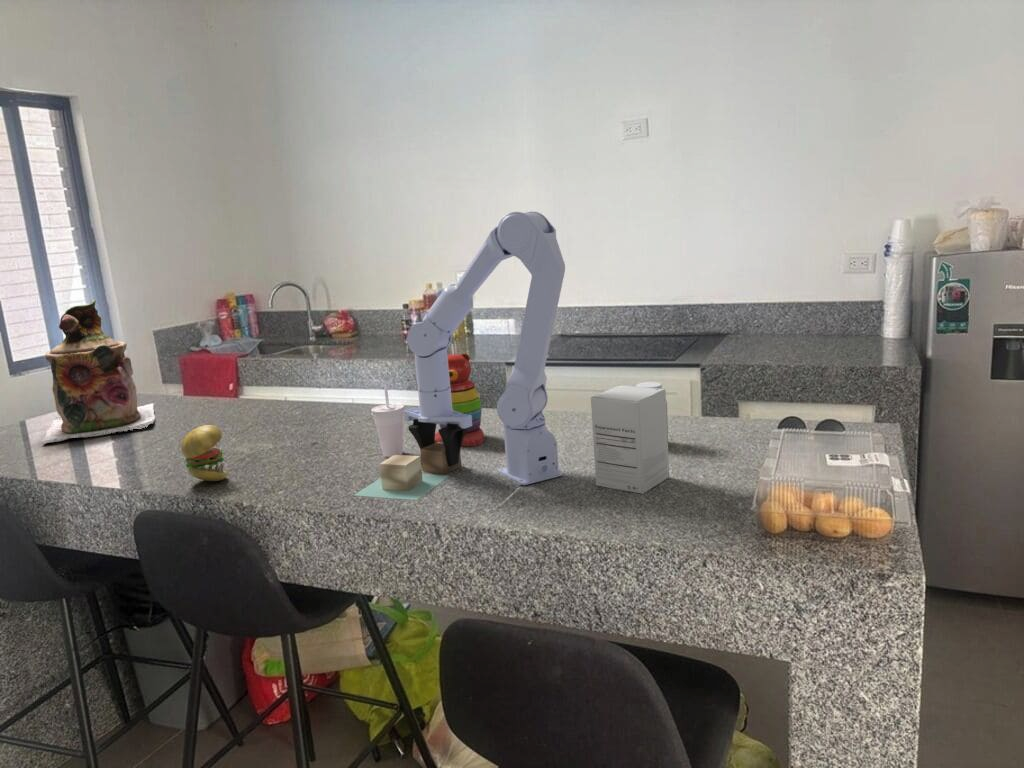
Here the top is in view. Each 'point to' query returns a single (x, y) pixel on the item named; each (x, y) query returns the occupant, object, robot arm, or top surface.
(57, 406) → the cookie jar
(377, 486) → the mat
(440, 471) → the walnut block
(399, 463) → the maple block
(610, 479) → the supplement box
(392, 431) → the smoothie
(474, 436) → the stacking bear
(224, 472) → the hamburger
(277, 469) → the top surface
